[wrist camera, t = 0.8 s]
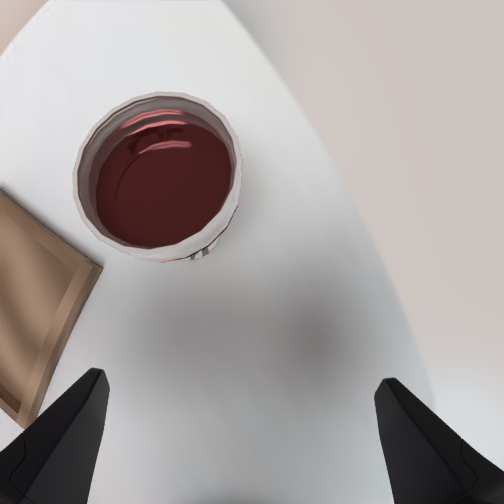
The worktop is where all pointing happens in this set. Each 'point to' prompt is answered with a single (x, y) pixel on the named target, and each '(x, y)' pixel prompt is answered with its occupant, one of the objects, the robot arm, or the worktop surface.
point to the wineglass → (159, 177)
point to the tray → (35, 306)
